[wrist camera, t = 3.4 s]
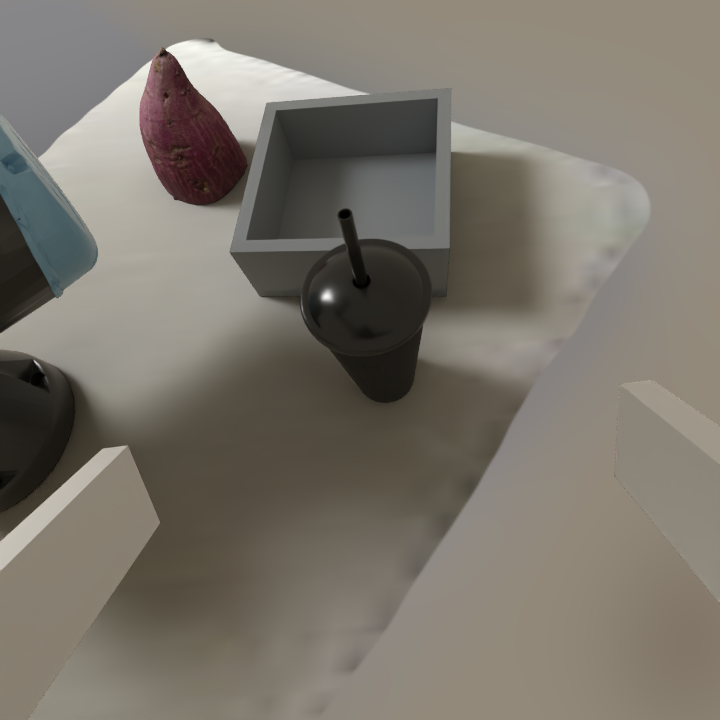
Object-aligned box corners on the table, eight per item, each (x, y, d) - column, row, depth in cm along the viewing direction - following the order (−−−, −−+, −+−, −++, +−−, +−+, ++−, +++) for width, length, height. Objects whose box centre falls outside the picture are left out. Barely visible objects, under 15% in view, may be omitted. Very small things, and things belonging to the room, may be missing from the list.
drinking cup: (348, 427, 35) (265, 306, 17) (337, 345, 39) (256, 170, 20) (439, 410, 35) (452, 267, 17) (420, 328, 38) (414, 133, 20)
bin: (259, 296, 42) (229, 252, 36) (287, 160, 49) (266, 102, 42) (446, 296, 39) (449, 248, 32) (448, 151, 46) (451, 88, 39)
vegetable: (259, 163, 54) (246, 25, 41) (235, 220, 49) (211, 84, 36) (176, 145, 54) (136, 1, 40) (143, 201, 48) (86, 57, 35)
